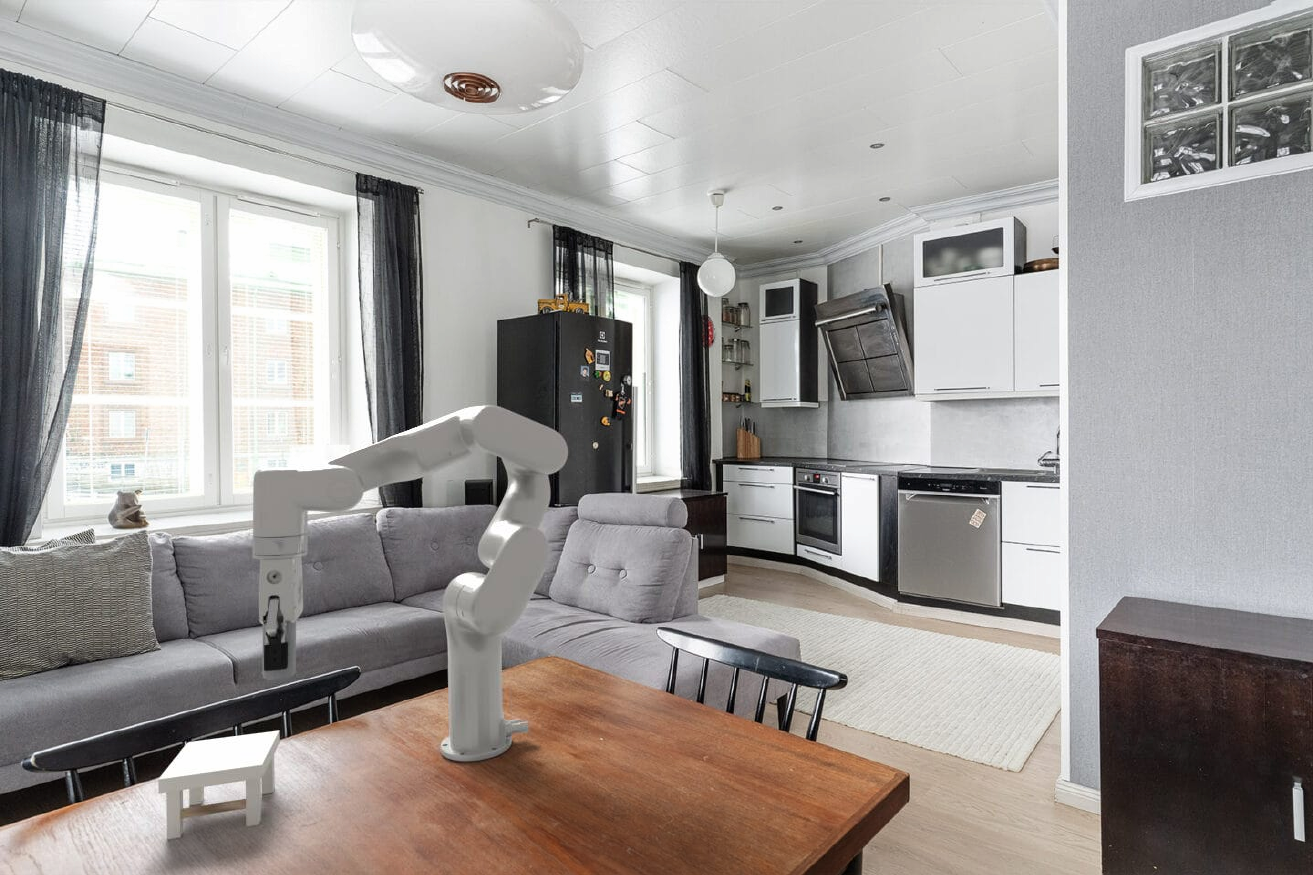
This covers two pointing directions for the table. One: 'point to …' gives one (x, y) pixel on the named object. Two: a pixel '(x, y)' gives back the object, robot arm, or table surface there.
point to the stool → (219, 776)
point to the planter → (291, 654)
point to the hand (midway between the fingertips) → (279, 663)
